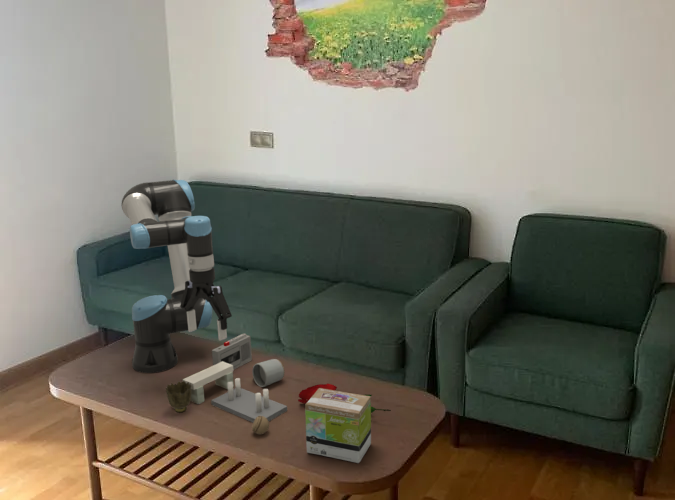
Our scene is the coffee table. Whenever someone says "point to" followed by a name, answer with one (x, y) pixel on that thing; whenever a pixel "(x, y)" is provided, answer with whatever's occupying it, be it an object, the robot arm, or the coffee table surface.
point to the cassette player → (234, 351)
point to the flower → (310, 391)
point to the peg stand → (248, 403)
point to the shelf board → (209, 374)
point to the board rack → (198, 393)
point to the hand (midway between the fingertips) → (207, 334)
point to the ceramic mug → (268, 372)
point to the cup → (179, 396)
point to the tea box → (338, 424)
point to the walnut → (260, 425)
